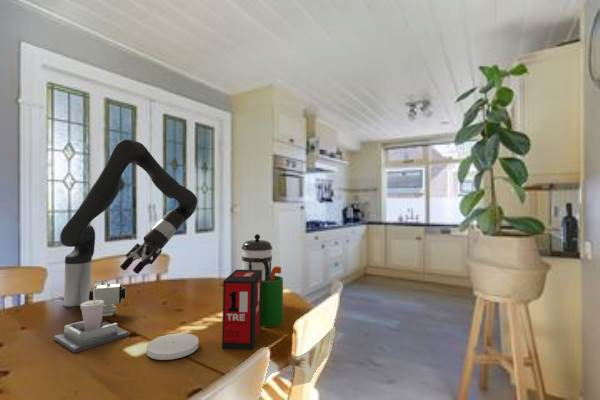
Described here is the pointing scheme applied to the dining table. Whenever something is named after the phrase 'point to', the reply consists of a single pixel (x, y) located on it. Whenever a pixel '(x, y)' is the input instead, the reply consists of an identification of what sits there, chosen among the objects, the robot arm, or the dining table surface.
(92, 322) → the smoothie
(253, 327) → the cleaning product box
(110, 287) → the pneumatic valve
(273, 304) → the green cylindrical container
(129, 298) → the dining table surface
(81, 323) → the mount plate
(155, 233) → the robot arm
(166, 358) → the plastic lid
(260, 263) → the coffee press
